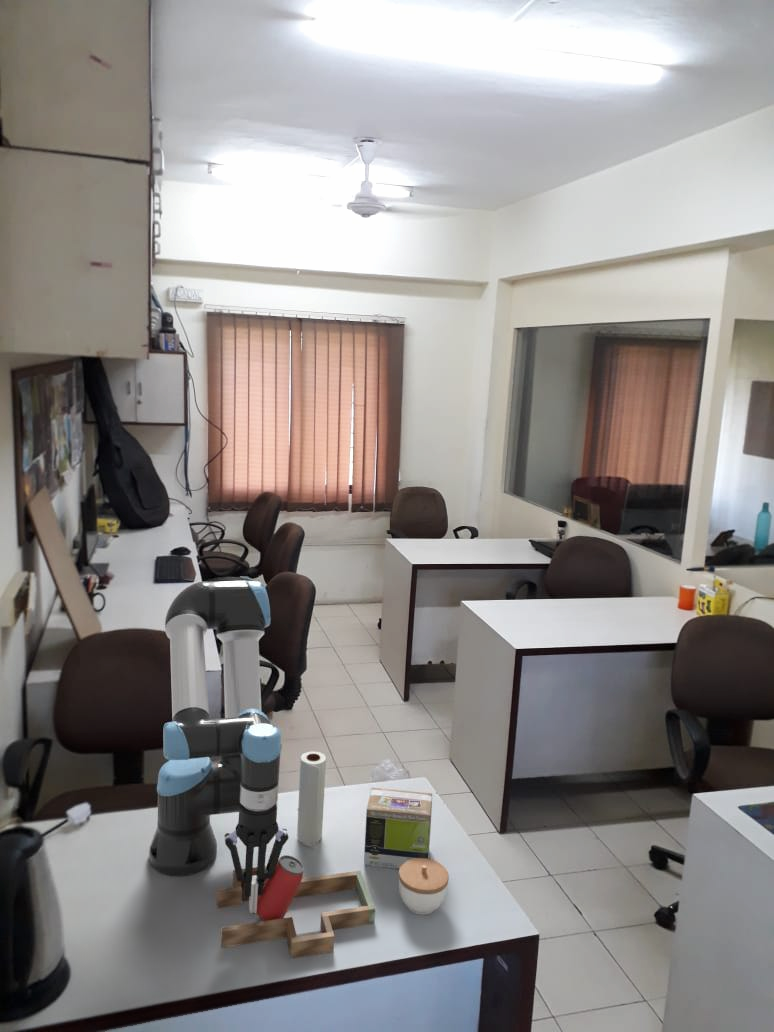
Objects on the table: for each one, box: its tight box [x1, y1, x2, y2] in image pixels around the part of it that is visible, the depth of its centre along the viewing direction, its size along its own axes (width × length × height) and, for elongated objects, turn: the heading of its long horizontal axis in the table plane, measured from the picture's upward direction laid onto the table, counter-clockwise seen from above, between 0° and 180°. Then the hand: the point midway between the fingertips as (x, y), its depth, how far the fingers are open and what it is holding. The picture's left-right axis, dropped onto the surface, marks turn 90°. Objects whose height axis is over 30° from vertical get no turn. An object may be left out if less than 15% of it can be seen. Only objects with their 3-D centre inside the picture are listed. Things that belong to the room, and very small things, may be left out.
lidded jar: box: [398, 858, 450, 916], centre depth 165 cm, size 11×11×9 cm
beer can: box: [255, 855, 305, 921], centre depth 158 cm, size 7×7×12 cm
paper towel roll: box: [296, 750, 327, 850], centre depth 184 cm, size 7×6×21 cm
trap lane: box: [216, 865, 376, 959], centre depth 160 cm, size 31×24×4 cm
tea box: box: [363, 787, 433, 870], centre depth 180 cm, size 15×10×15 cm
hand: (252, 908), depth 156 cm, fingers closed
